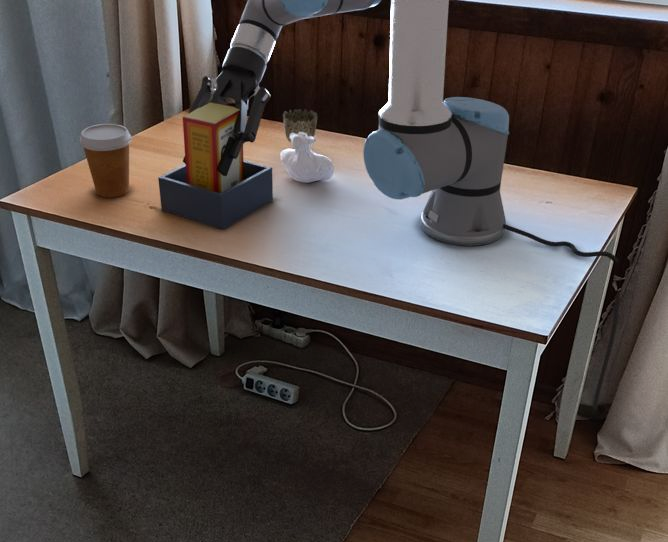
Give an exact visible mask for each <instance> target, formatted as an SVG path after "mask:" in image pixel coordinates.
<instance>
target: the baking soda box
mask: <svg viewBox="0 0 668 542" xmlns="http://www.w3.org/2000/svg"><path fill="white" fill-rule="evenodd" d="M209 102H210V101H209ZM239 111H240V109H236V108H235V105H234V106H233V105H229V104H227V105H224V104H220V103H211V102H210V103H208V104H207V105H205V106H203V107H201V108H198V109H196V110H194V111H193V112H191V113H189V112H188V113H189V114H188V113H187V114H186V115H184V116H182V130H183V144H184V146H183V147H184V157H185V162H186V178H187V184H190V185H193V186H197V187H200V188H203V189H207V190H210V191H214V192H217V193H222V192H224V191H226V190H227V189H229V188H231V187H233V186H235V185H237V184H238V183H240V182H242V181H244V164H243V160H244V144H243V145H242V147H241V150H240V153H239V155H238V157H237V158H236V159H234V158H233V161H232V163H231V166H230V169H229V171H228V174H227V176H223V175H222V174H221V173H220V172H219V171H218V170H217V167H218V164H219V162H220V159H221V157H222V154H223V151H224V149H225V146H226V144H227V141H228V138H229V137H233V138H235V137H234V136H233V134H234V126H235V121H236V119H237V116H238V114H239ZM232 133H233V134H232Z"/></svg>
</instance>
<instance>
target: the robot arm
mask: <svg viewBox="0 0 668 542" xmlns="http://www.w3.org/2000/svg"><path fill="white" fill-rule="evenodd" d="M381 2H382V0H247V1H246V4H245V7H244V10H243V12H242V14H241V17H240V20H239V23H238V25H237V27H236V30H235V32H234V35H233V37H232V38H231V42H230V45H229V46H230V48H229V49H228V50H227V53H226V55H225V57H224V60H223V63H222V70H221V72H220V74H219V75H218V76H217V77H216V78H215V77H214V78H209V77H208V76H207V75H205V76H203V77H202V79H201V87H200V89H199V91H198V93H197V95H196V97H195V99H194V100H193V103H192V105H191V107H190V109H189V111H188V113H187V114H189V113H191V112H193V111H194V110H196V109H198V108H201V107H203V106H205V105H207V104H208V103H210V102H211V103H220V104H224V105H229V104H235V105H234V107H235V108H236V109H240V111H239V114H238V116H237V119H236V121H235V126H234V134H233V133H232V134H233V136H234V137H235V138H233V137H229V138H228V141H227V144H226V146H225V149H224V151H223V154H222V157H221V159H220V162H219V164H218V167H217V170H218V171H219V172H220V173H221V174H222V175H223V176H227V174H228V171H229V169H230V166H231V163H232V161H233V158H234V159H236V158H237V157H238V155H239V153H240V150H241V147H242V145H243V146H244V144H245V143H249V142H250V143H252V144H253V143H254V142H255V141H256V139H257V134H258V131H259V127H260V124H261V121H262V117H263V112H264V110H265V107H266V105H267V103H268V101H269V100H270V99H271V94H270V92H269V91H268V90H267V89H266V87H265V86H261V87H260V83H261V82H262V80H263V77H264V74H265V72H266V69H267V64H268V62H269V61H270V58H271V55H272V53H273V50H274V47H275V45H276V43H277V40H278V37H279V35H280V33H281V30H282V28H283V27H284V26H287V25H291V24H293V23H296V22H299V21H302V20H305V19H312V18H318V17H323V16H328V15H329V16H330V15H336V14H342V13H348V12H354V11H355V12H356V11H364V10H367V9H369V8H373V7H375V6H377V5H379V4H380V3H381ZM449 2H450V0H390V31H389V33H390V35H389V37H390V39H389V71H388V72H389V73H388V74H389V78H388V101H387V102H386V104H385V105H384V106H383V107H381V109H379V111H378V129H376V130H374V131H372V132H371V133H370V134H369V135H368V136H367V138H366V139H365V141H364V144H363V151H362V154H363V155H362V156H363V163H364V167H365V169H366V172H367V175H368V176H369V179H371V181H372V182H373V185H374V186H375V187H376V189H377V190H378V191H379V192H380V193H381V194H383V195H384V196H385V197H388V198H390V199H394V200H405V199H409V198H418V197H420V196H421V195H423V194H427V193H429V192H430V194H429V197H428V199H427V201H426V203H425V206H424V208H423V210H422V212H421V219H420V227H421V230H422V231H423V232H424V233H425V234H426V235H427V236H429V237H430V238H432V239H435V240H437V241H440V242H442V243H446V244H450V245H455V246H467V247H468V246H469V247H470V246H471V247H472V246H482V245H483V246H484V245H488V244H491V243H494V242H496V241H498V240H500V239H501V238H502V237H503V236H504V234H505V232H506V231H509V232H512V233H515V234H517V235H520V236H522V237H526V238H529V239H530V240H532V241H535V242H538V243H539V244H542V245H545V246H549V247H567V248H569V249H570V250H571V251H572V253H573V254H575V255H576V256H578V257H581V258H582V257H583V258H593V257H594V258H595V257H606V258H608V259H609V260H611V261H612V262H614V263H619V262H620V260H619V259H618V258H617V257H616V256H615V255H614V254H613V253H612V252H608V251H605V250H604V251H603V250H599V251H588V252H586V251H580V250H578V249H577V247H576V246H575V245H574V244H573V243H572V242H569V241H564V240H563V241H551V240H548V239H544V238H541V237H539V236H537V235H535V234H533V233H530V232H528V231H525V230H522V229H519V228H516V227H514V226H511V225H509V224H506V223H507V221H506V213H505V210H504V204H503V199H502V195H501V186H502V177H503V172H504V171H503V170H504V165H505V159H506V158H505V157H506V152H507V151H506V150H507V145H508V144H507V143H508V139H509V138H508V137H509V135H510V131H509V125H510V114H509V112H508V111H507V109H506V108H505V107H503V106H502V105H500V104H497V103H495V102H492V101H488V100H484V99H480V98H475V97H473V98H472V97H467V96H465V97H464V96H451V97H447V98H445V99H444V88H445V73H446V72H445V71H446V54H447V36H448V23H449V21H448V20H449V5H450V4H449ZM252 97H254V98H253V100H252V103H251V107H250V110H249V101H250V99H251V98H252ZM248 110H249V114H248ZM247 115H248V116H247ZM182 163H184V165H185V164H186V162H185V156H183V159H182ZM505 230H506V231H505ZM620 301H621V289H619V290H618V291H617V293H616V294H615V296H614V306H613V307H614V309H613V317H612V322H611V323H612V324H611V330H610V334H609V340H608V343H607V348H606V352H605V356H604V360H603V363H602V366H601V370H600V374H599V377H598V381H597V386H596V389H595V393H594V398H593V403H592V409H593V410H597V408H598V404H599V399H600V395H601V390H602V387H603V383H604V379H605V375H606V371H607V368H608V365H609V361H610V358H611V353H612V350H613V346H614V341H615V336H616V332H617V327H618V326H617V325H618V320H619V313H620Z"/></svg>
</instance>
